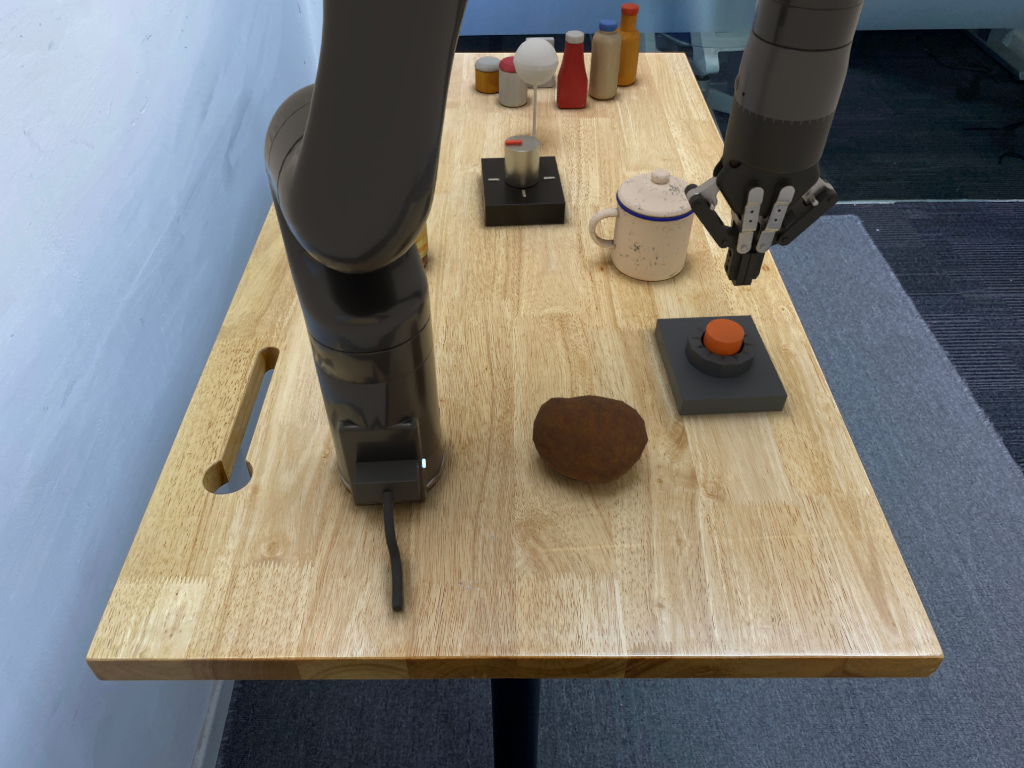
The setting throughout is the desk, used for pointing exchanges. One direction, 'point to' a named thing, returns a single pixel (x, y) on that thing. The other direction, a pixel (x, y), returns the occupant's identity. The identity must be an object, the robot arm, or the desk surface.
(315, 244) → the robot arm
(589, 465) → the potato
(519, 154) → the stove knob
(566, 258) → the desk surface
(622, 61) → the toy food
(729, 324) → the button
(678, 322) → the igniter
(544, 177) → the stove panel
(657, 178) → the teacup with lid
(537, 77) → the lollipop
